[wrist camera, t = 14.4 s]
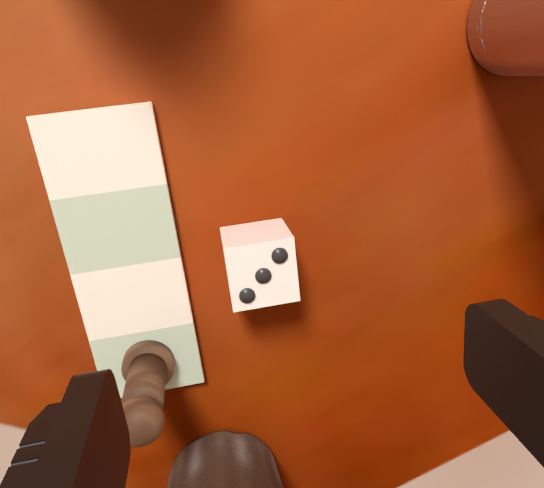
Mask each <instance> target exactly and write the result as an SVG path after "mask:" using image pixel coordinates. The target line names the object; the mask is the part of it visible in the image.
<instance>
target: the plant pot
mask: <svg viewBox="0 0 544 488" xmlns="http://www.w3.org/2000/svg"><path fill="white" fill-rule="evenodd" d="M168 488H284V487H283V484H282V481H281V477H280V474H279V471H278V468H277V464H276V461H275V458H274V456H273V454H272V452H271V450H270V449H269V448H268V446H267V445H266V444H265V443H263V442H262V441H261V440H260V439H258V438H257V437H255V436H253V435H251V434H248V433H242V434H236V433H232V432H229V431H218V432H213V433H210V434H207V435H205V436H202V437H200V438H198V439H196V440H194V441H193V442H191V443H190V444H189V445H187V446H186V447H185V448H184V449H183V450H182V451H181V452H180V453H179V454H178V456H177V457H176V459H175V460H174V462H173V466H172V469H171V472H170V477H169V483H168Z"/></svg>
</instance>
